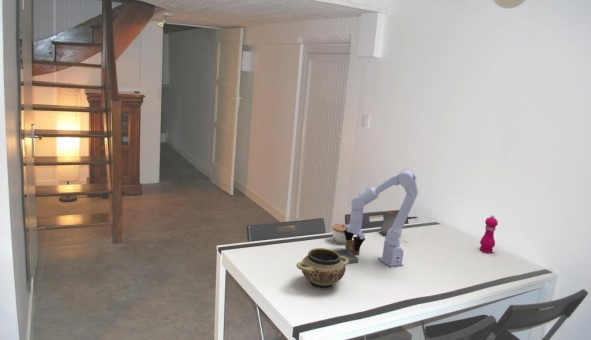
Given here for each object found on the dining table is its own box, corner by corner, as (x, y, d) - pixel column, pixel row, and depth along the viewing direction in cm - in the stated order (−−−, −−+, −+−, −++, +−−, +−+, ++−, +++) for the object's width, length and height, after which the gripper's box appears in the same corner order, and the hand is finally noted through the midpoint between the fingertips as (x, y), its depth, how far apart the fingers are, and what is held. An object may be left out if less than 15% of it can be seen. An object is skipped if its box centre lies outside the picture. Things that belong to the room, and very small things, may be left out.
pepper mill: (490, 249, 244) (497, 213, 239) (495, 254, 237) (502, 217, 232) (477, 247, 244) (483, 212, 240) (481, 252, 237) (487, 216, 233)
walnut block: (359, 255, 218) (360, 243, 217) (349, 256, 216) (351, 244, 215) (353, 251, 223) (355, 239, 222) (344, 251, 221) (346, 240, 220)
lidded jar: (352, 246, 229) (355, 228, 227) (331, 244, 229) (333, 226, 227) (350, 238, 239) (352, 221, 237) (330, 236, 239) (332, 219, 237)
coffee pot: (375, 232, 253) (379, 206, 249) (389, 229, 260) (392, 204, 257) (406, 246, 237) (410, 218, 233) (420, 242, 244) (424, 215, 241)
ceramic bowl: (337, 279, 197) (335, 244, 197) (362, 287, 181) (360, 249, 181) (286, 287, 185) (285, 250, 185) (308, 297, 169) (307, 256, 169)
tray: (357, 262, 209) (358, 258, 209) (336, 264, 205) (337, 260, 204) (345, 253, 219) (346, 248, 218) (325, 255, 214) (326, 250, 214)
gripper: (341, 216, 221) (337, 242, 224) (356, 226, 208) (352, 254, 211) (353, 215, 224) (350, 241, 227) (369, 225, 211) (365, 253, 214)
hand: (352, 247), depth 219 cm, fingers open, 7 cm apart
